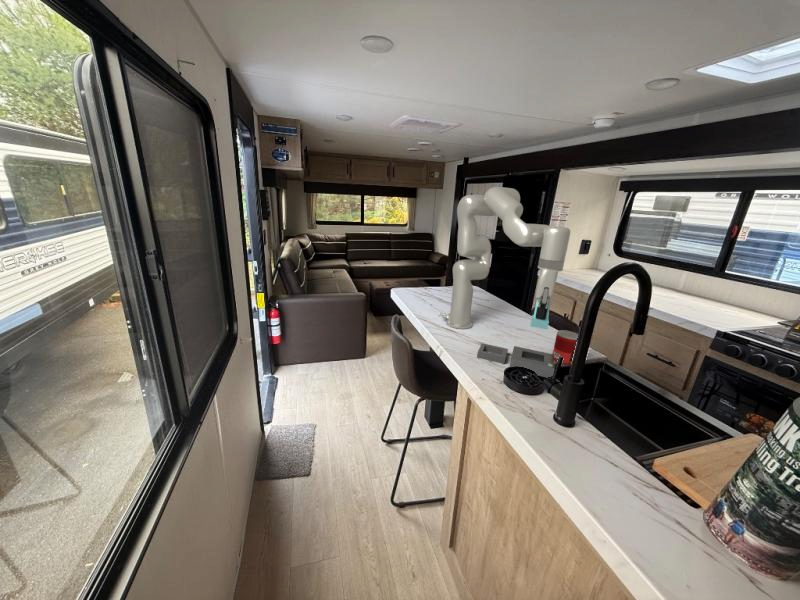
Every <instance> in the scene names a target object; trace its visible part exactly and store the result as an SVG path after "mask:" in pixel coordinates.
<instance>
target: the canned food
mask: <svg viewBox="0 0 800 600" xmlns="http://www.w3.org/2000/svg"><path fill="white" fill-rule="evenodd" d="M578 334H579V333H577V332H574V331H570V330H564V329H563V330H562V329H561V330H560V329H559V330H557V332H556V336H555V341H554V345H553V350H552V354H554V362H556V363H558V362H557V360H558V357H559V356H562V357H563V358H564V360H563V364H562V365H565V364H566V366H571V365H570V364H571V362H572V358H573V354H574V350H575V346H576V342H577V338H578Z"/></svg>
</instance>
